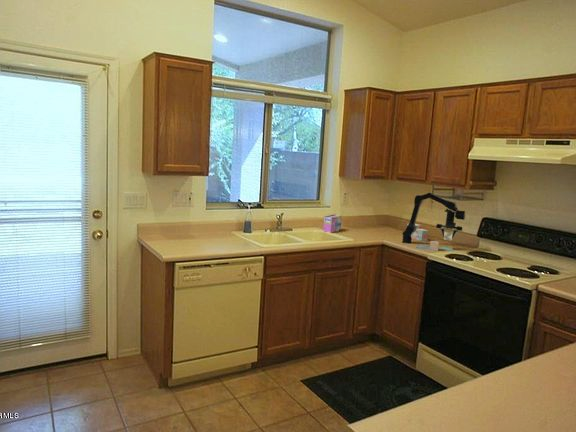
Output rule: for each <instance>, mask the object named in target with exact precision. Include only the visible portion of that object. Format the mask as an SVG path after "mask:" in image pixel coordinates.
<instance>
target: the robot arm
mask: <svg viewBox="0 0 576 432" xmlns="http://www.w3.org/2000/svg"><path fill="white" fill-rule="evenodd" d="M427 199H431V200H433V201H435V202H438V203H439V204H442V206H443V207H444V206H445V208H446V209H445V210H444V213H446V216H445V217H446V219H445V225H444V224H442V223H436V228H437V229H439V230H441V233H442V234H441V235H442V238H443V239H444V232H445V229H450V230H452V229H453V231H452V232H453V235H452V240H453V238H454V237H455V234H456V233H457V232H458V231H459V232H460V231H463V226H462V225H456V224H457V223H456V222H455V219H456V220H463V221H464V220H465V219H466V210H459V208H458V207H457V203H456V202H455V201H451V200H448V199H445V198H443V197H440V196H439V195H436V194H434V193H432V192H428V193H425V194H417V195H416V196H415V197H414V202H413V204H414V206H413V209H412V213H411V217H410V219H409V224H408V223H407V224H408V226H406V228H405V230H404V231H403V232H402V242H401V243H403V244H411V243H412V240H413V238H412V237H411V235H412V233H414V232H415V231H416V227H417V226H415V224H416V221H417V219H418V215H419V212H420V208H421V206H422V205H423V202H424V201H425V200H427Z"/></svg>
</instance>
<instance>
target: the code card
mask: <svg viewBox="0 0 576 432" xmlns="http://www.w3.org/2000/svg"><path fill="white" fill-rule="evenodd" d="M439 248H440V247H438V249H439ZM415 249H419V250H427V251H431V250H430V245H428V244H427V245H426V244H420V243H418V244H417V245H416V248H415ZM433 251H434V252H437V251H436V250H432V252H433Z"/></svg>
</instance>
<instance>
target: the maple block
mask: <svg viewBox="0 0 576 432" xmlns="http://www.w3.org/2000/svg"><path fill="white" fill-rule="evenodd" d="M453 232H454V231H448V230H444V238H443V240H445V241H453V239H452V235H453Z"/></svg>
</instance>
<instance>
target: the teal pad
mask: <svg viewBox="0 0 576 432" xmlns="http://www.w3.org/2000/svg"><path fill="white" fill-rule="evenodd" d="M440 250H445V251H454V248H451V247H450V248H449V247H443V246H441V247H440Z"/></svg>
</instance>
